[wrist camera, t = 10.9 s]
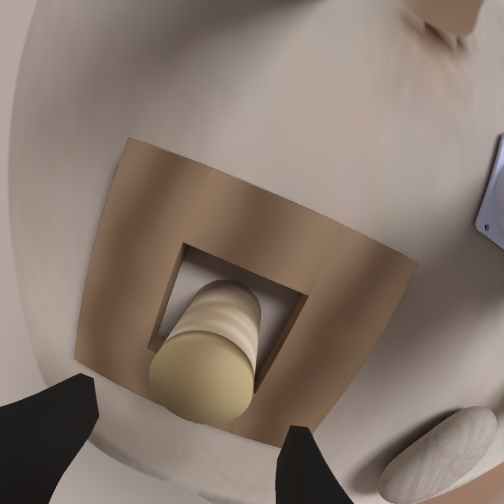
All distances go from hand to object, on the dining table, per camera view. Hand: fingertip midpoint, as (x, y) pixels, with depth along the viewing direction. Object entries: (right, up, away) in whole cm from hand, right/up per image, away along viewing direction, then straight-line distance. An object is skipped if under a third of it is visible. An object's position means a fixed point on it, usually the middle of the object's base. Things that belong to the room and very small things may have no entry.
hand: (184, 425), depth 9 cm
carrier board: (+1, +2, +10) cm, 10 cm away
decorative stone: (+19, -12, +12) cm, 26 cm away
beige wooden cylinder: (+1, +2, +10) cm, 10 cm away
